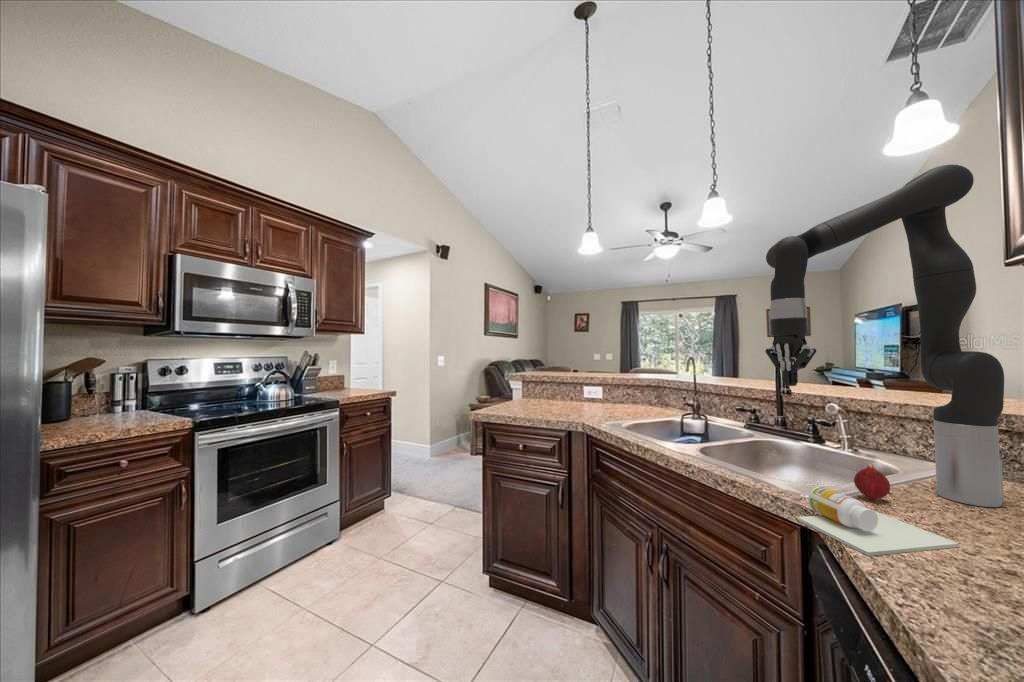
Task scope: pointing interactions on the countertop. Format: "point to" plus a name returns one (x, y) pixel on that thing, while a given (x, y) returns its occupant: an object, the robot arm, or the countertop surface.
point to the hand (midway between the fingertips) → (790, 385)
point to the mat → (880, 536)
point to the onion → (872, 483)
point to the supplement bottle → (842, 509)
